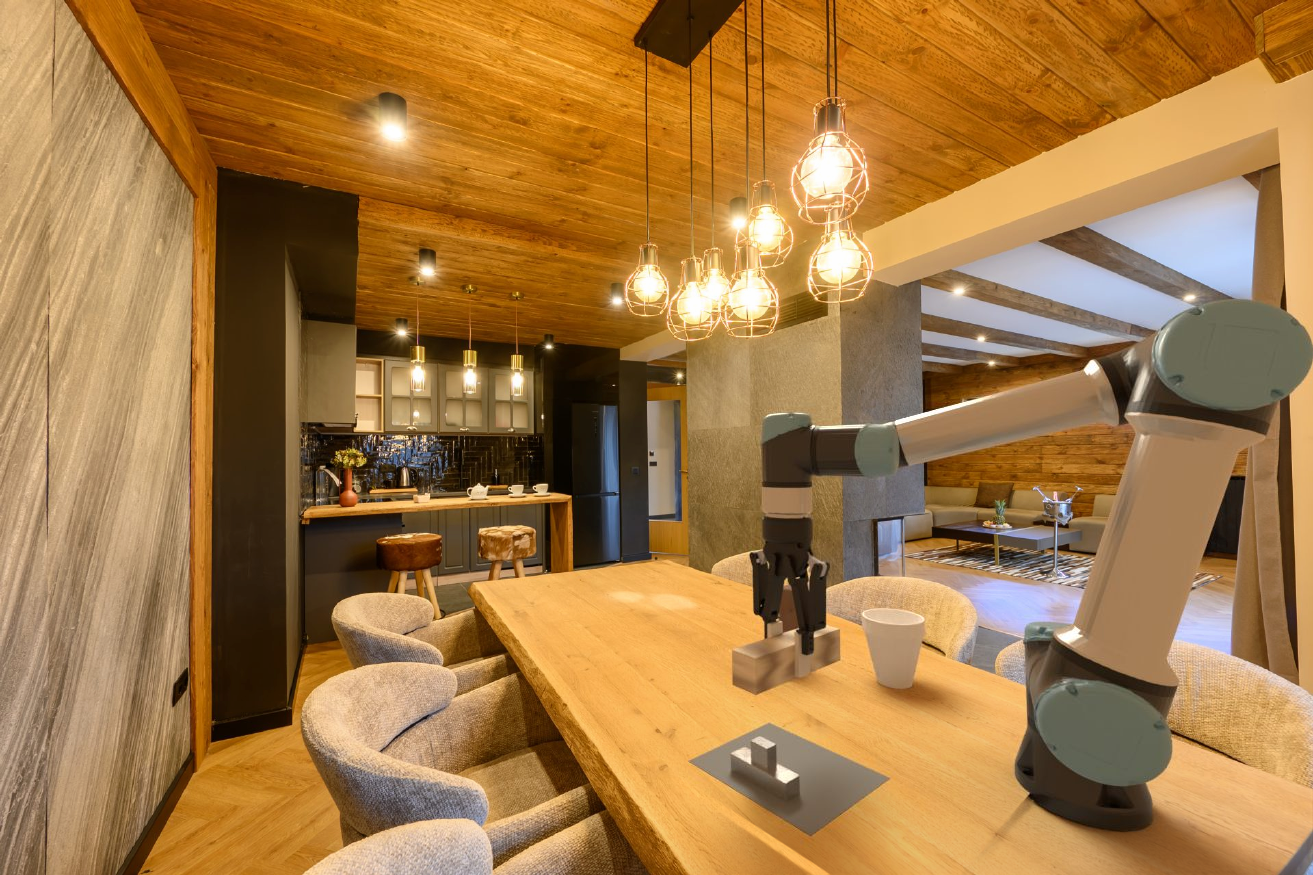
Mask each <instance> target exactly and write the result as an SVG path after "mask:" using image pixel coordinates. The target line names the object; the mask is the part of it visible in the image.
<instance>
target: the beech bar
mask: <svg viewBox="0 0 1313 875" xmlns="http://www.w3.org/2000/svg"><path fill="white" fill-rule="evenodd" d="M798 629H799V628H797V629H794V630H791V631H788V632H785V633H782V634H779V635H776V636H773V637H769V638H766V639H764V638H763V639H760V640H758V641H754V642H751V643H748V644H745V645H743V646H739V647H736V648H733V649H731V662H732V664H731V666H732V668H731V669H732V673H731V674H732V685H733V686H735V687H736V688H739V689H741V690H743V691H745V692H748V693H749V694H753V695H754V696H757V695H759V694H762V693H765V692H767V691H770V690H772V689H775V688H777V687H779V686H781V685H784V684H787V683H788V682H791V681H794V680H797V679H798V678H797V677H795V645H794V632H795V631H796V630H798ZM840 661H841V629H840V628H838V627H834V626H831V625H828V624H826V628H824V629H821V630H818V631H815V632H814V652H813V654H810V674H811V673H813V672H816V671H818V670H821V669H823V668H826V667H828V666H831V665H833V664H835V663H838V662H840Z"/></svg>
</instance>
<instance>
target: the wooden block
mask: <svg viewBox="0 0 1313 875" xmlns="http://www.w3.org/2000/svg"><path fill="white" fill-rule="evenodd" d="M779 615H780V616H781V618H780V619H778V621H782V624H783V633H785V632H788V631H791V630H794V629H797V628H799V627H798V621H797V616H796V610H795V605H794V600H793V594H792V589H791V586H790V585H789V584H787V585H784V587H783V593H782V598H781V604H780V610H779Z"/></svg>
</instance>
